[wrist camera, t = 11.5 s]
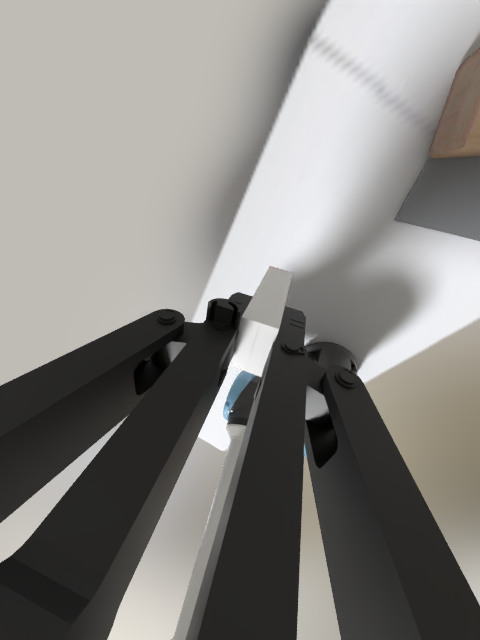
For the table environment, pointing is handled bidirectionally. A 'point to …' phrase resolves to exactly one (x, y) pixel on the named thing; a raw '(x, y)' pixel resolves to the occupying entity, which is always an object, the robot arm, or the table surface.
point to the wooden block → (461, 114)
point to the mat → (446, 197)
